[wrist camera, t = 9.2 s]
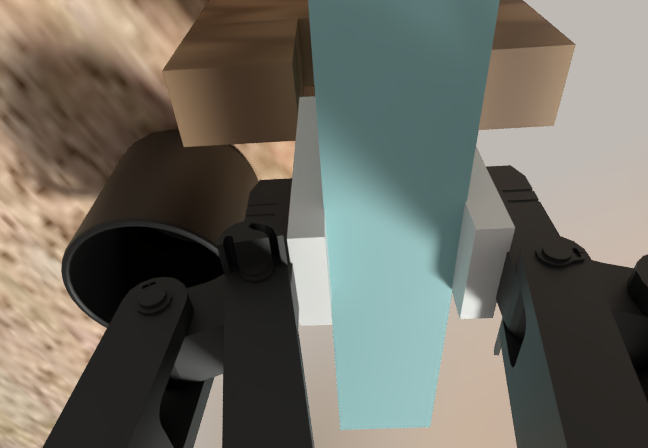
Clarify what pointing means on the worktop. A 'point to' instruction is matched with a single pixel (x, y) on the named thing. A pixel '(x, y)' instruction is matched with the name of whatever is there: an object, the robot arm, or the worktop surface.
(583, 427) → the robot arm
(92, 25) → the worktop surface
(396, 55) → the teal flat block
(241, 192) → the mug
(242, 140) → the walnut u-shaped block
